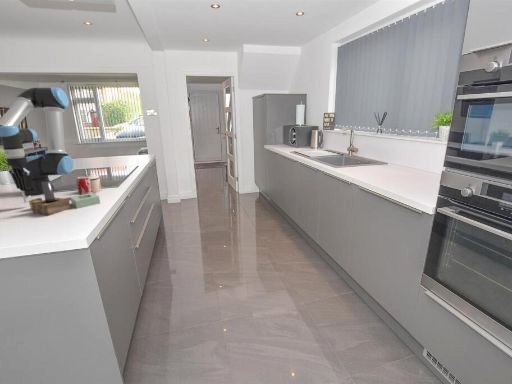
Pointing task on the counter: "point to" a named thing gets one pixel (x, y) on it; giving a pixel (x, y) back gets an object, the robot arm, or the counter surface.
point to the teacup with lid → (95, 182)
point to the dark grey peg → (48, 191)
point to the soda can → (84, 185)
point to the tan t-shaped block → (34, 201)
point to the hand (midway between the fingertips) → (28, 201)
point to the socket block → (51, 206)
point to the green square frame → (85, 200)
